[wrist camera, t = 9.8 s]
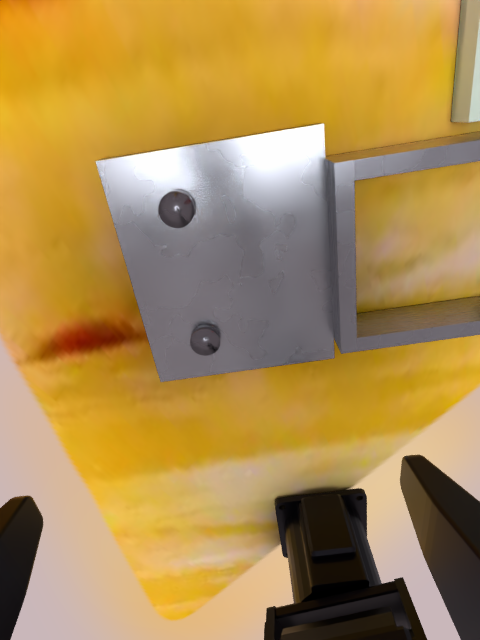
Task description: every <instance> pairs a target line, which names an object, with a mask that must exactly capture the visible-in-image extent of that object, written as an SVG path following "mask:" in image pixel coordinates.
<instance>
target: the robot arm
mask: <svg viewBox="0 0 480 640" xmlns="http://www.w3.org/2000/svg"><path fill="white" fill-rule="evenodd" d="M400 484H401V489H402V492H403V495H404V498H405V501H406V504H407V507H408V511H409V514H410V516H411V520H412V522H413V526H414V529H415V531H416V534H417V538H418V541H419V544H420V546H421V549H422V552H423V555H424V558H425V560H426V562H427V565H428V567H429V569H430V572H431V574H432V576H433V578H434V581H435V583H436V585H437V587H438V589H439V592H440V594H441V596H442V598H443V600H444V603H445V605H446V607H447V610H448V612H449V614H450V616H451V618H452V621H453V623H454V625H455V627H456V629H457V632H458V634H459V636H460V638H461V640H480V501H478V500H477V499H475V498H474V497H473V496H472V495H471V494H469V493H468V492H467V491H466V490H465V489H463V488H462V487H461V486H460V485H458V484H457V483H456V482H455V481H453V480H452V479H451V478H450V477H448V476H447V475H446V474H445V473H443V472H442V471H441V470H440V469H438V468H437V467H436V466H435V465H433V464H432V463H431V462H430V461H428V460H427V459H426V458H425V457H423V456H421V455H410V456H404V457H403V459H402V466H401V476H400ZM275 509H276V515H277V522H278V528H279V534H280V540H281V546H282V553H283V556H284V557H286V558H288V562H289V568H290V576H291V584H292V592H293V599H294V604H290V605H286V606H281V607H277V608H276V607H275V606H273V607H269V608H267V613H266V622H265V629H264V640H427V638H426V635H425V633H424V630H423V628H422V625H421V623H420V620H419V618H418V615H417V612H416V610H415V607H414V605H413V602H412V600H411V597H410V595H409V592H408V590H407V587H406V584H405V582H404V579H403V578H398V579H394V580H395V581H392V582H388V583H384V584H382V583H381V580H380V577H379V574H378V571H377V568H376V565H375V562H374V558H373V555H372V552H371V549H370V546H369V543H368V540H367V497H366V494H365V491H364V490H363V489H350V490H342V491H333V492H325V493H317V494H309V495H301V496H292V497H284V498H279V499H277V500H276V501H275ZM42 528H43V517H42V515H41V513H40V511H39V509H38V507H37V505H36V504H35V502H34V500H33V498H32V497H30V496H19V497H14V498H12V499H10V500H9V501H8V502H7V503H5V504H4V505H3V506H2V507H1V508H0V640H10V639H11V636H12V633H13V630H14V627H15V625H16V622H17V619H18V616H19V613H20V610H21V607H22V604H23V601H24V598H25V595H26V592H27V588H28V584H29V581H30V576H31V572H32V569H33V564H34V560H35V557H36V553H37V548H38V544H39V540H40V536H41V532H42Z"/></svg>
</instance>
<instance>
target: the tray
mask: <svg viewBox="0 0 480 640" xmlns="http://www.w3.org/2000/svg"><path fill="white" fill-rule="evenodd" d="M476 121H480V0H461V10H460V21H459V33H458V44H457V56H456V67H455V79H454V91H453V102H452V114H451V122H466V123H470V122H476Z"/></svg>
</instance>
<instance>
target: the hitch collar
mask: <svg viewBox="0 0 480 640" xmlns="http://www.w3.org/2000/svg"><path fill="white" fill-rule="evenodd" d="M476 161H480V132H474V133H467V134H461V135H455V136H449V137H443V138H436V139H430V140H424V141H418V142H411V143H405V144H399V145H393V146H386V147H380V148H374V149H368V150H362V151H355V152H349V153H343V154H337V155H330V156H325V140H324V124H321V123H319V124H313V125H307V126H301V127H295V128H289V129H283V130H277V131H270V132H264V133H258V134H252V135H246V136H240V137H234V138H228V139H222V140H216V141H210V142H204V143H197V144H191V145H185V146H179V147H173V148H167V149H161V150H155V151H149V152H143V153H137V154H131V155H124V156H118V157H112V158H106V159H100V160H98V161H96V165H97V168H98V172H99V175H100V178H101V182H102V185H103V188H104V192H105V195H106V199H107V202H108V205H109V209H110V212H111V215H112V219H113V222H114V226H115V229H116V232H117V236H118V239H119V243H120V246H121V249H122V253H123V256H124V259H125V263H126V266H127V270H128V273H129V276H130V280H131V283H132V287H133V290H134V293H135V297H136V300H137V303H138V307H139V310H140V314H141V317H142V320H143V324H144V327H145V330H146V334H147V337H148V341H149V344H150V347H151V351H152V354H153V358H154V361H155V364H156V368H157V371H158V374H159V378H160V381H161V382H164V381H172V380H179V379H186V378H193V377H201V376H208V375H215V374H223V373H230V372H237V371H245V370H252V369H259V368H267V367H274V366H281V365H288V364H296V363H303V362H310V361H318V360H325V359H332V358H335V357H334V339H335V341H336V343H337V345H338V348H339V350H340V352H341V354H342V353H349V352H357V351H364V350H371V349H378V348H386V347H393V346H400V345H408V344H415V343H422V342H429V341H437V340H444V339H451V338H458V337H466V336H473V335H480V296H477V297H470V298H463V299H456V300H449V301H442V302H435V303H428V304H421V305H414V306H407V307H400V308H393V309H386V310H379V311H372V312H364V313H357V314H356V250H355V183H354V181H355V180H361V179H368V178H374V177H380V176H387V175H393V174H399V173H406V172H412V171H419V170H425V169H431V168H438V167H444V166H450V165H457V164H463V163H469V162H476Z"/></svg>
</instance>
